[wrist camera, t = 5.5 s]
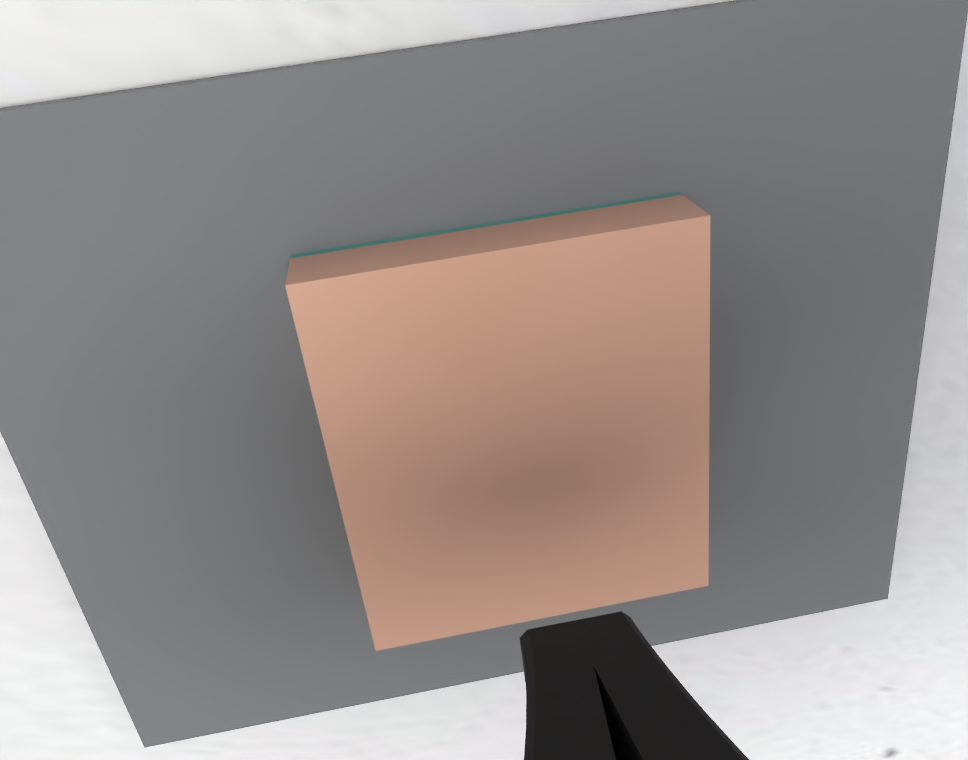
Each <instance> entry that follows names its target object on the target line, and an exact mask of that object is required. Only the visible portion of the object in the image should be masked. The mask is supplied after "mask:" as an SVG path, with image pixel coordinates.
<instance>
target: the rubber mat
mask: <svg viewBox="0 0 968 760" xmlns="http://www.w3.org/2000/svg"><path fill="white" fill-rule="evenodd" d="M967 12H968V0H736V1H729V2H722V3H716V4H709V5H702V6H695V7H688V8H682V9H675V10H668V11H661V12H654V13H647V14H641V15H634V16H627V17H620V18H613V19H606V20H600V21H593V22H586V23H579V24H572V25H566V26H559V27H552V28H545V29H538V30H531V31H525V32H518V33H511V34H504V35H497V36H491V37H484V38H477V39H470V40H463V41H456V42H450V43H443V44H436V45H429V46H422V47H415V48H409V49H402V50H395V51H388V52H381V53H375V54H368V55H361V56H354V57H347V58H340V59H334V60H327V61H320V62H313V63H306V64H299V65H293V66H286V67H279V68H272V69H265V70H259V71H252V72H245V73H238V74H231V75H224V76H218V77H211V78H204V79H197V80H190V81H183V82H177V83H170V84H163V85H156V86H149V87H143V88H136V89H129V90H122V91H115V92H108V93H102V94H95V95H88V96H81V97H74V98H68V99H61V100H54V101H47V102H40V103H33V104H27V105H20V106H13V107H6V108H0V432H1V434H2V436H3V438H4V441H5V443H6V445H7V447H8V449H9V451H10V454H11V456H12V458H13V460H14V462H15V465H16V467H17V469H18V471H19V473H20V476H21V478H22V480H23V482H24V484H25V487H26V489H27V491H28V493H29V495H30V497H31V500H32V502H33V504H34V506H35V508H36V511H37V513H38V515H39V517H40V519H41V522H42V524H43V526H44V528H45V530H46V532H47V535H48V537H49V539H50V541H51V543H52V546H53V548H54V550H55V552H56V554H57V557H58V559H59V561H60V563H61V565H62V568H63V570H64V572H65V574H66V576H67V578H68V581H69V583H70V585H71V587H72V589H73V592H74V594H75V596H76V598H77V600H78V603H79V605H80V607H81V609H82V611H83V613H84V616H85V618H86V620H87V622H88V624H89V627H90V629H91V631H92V633H93V635H94V638H95V640H96V642H97V644H98V646H99V649H100V651H101V653H102V655H103V657H104V659H105V662H106V664H107V666H108V668H109V670H110V673H111V675H112V677H113V679H114V681H115V684H116V686H117V688H118V690H119V692H120V694H121V697H122V699H123V701H124V703H125V705H126V708H127V710H128V712H129V714H130V716H131V719H132V721H133V723H134V725H135V727H136V730H137V732H138V734H139V736H140V738H141V740H142V743H143V745H144V747H149V746H154V745H159V744H164V743H169V742H174V741H179V740H184V739H189V738H194V737H199V736H204V735H209V734H214V733H219V732H224V731H229V730H234V729H239V728H244V727H249V726H254V725H259V724H264V723H269V722H274V721H279V720H284V719H289V718H294V717H299V716H304V715H309V714H314V713H319V712H324V711H329V710H334V709H339V708H344V707H349V706H354V705H359V704H364V703H369V702H374V701H379V700H384V699H389V698H394V697H399V696H404V695H409V694H414V693H419V692H424V691H429V690H434V689H439V688H444V687H449V686H454V685H459V684H464V683H469V682H474V681H479V680H484V679H489V678H494V677H499V676H504V675H509V674H513V673H518V672H523V671H524V667H523V660H522V653H521V645H520V637H521V636H522V635H523V634H524V633H525V632H526V631H527V629H532V628H538V627H543V626H548V625H553V624H558V623H564V622H569V621H574V620H579V619H584V618H589V617H595V616H600V615H605V614H610V613H615V612H620V611H622V612H623V613H625V614H627V615H628V616H630V617H631V619H632V620H633V622H634V623H635V625H636V626H637V628H638V629H639V630H640V632H641V633H642V635H643V636H644V637H645V639H646V640H647V641H648V643H649V644H650V645H651V646H653V645H658V644H663V643H668V642H673V641H678V640H683V639H688V638H693V637H698V636H703V635H708V634H713V633H718V632H723V631H728V630H733V629H738V628H743V627H748V626H753V625H758V624H763V623H768V622H773V621H778V620H783V619H788V618H793V617H798V616H803V615H808V614H813V613H818V612H823V611H828V610H833V609H838V608H843V607H848V606H853V605H858V604H863V603H868V602H873V601H878V600H883V599H888V592H889V585H890V577H891V570H892V563H893V555H894V548H895V541H896V533H897V526H898V519H899V511H900V504H901V497H902V489H903V482H904V474H905V467H906V460H907V452H908V445H909V438H910V430H911V423H912V416H913V408H914V401H915V394H916V386H917V379H918V372H919V364H920V357H921V350H922V342H923V335H924V328H925V320H926V313H927V306H928V298H929V291H930V284H931V276H932V269H933V262H934V254H935V247H936V240H937V232H938V225H939V218H940V210H941V203H942V196H943V188H944V181H945V174H946V166H947V159H948V152H949V144H950V137H951V130H952V122H953V115H954V108H955V100H956V93H957V86H958V78H959V71H960V64H961V56H962V49H963V42H964V34H965V27H966V20H967ZM675 192H680V193H681V194H683V195H684V196H685V197H687V198H688V199H689V200H691V201H692V202H693V203H695V204H696V205H697V206H699V207H700V208H701V209H703V210H704V211H705V212H707V213H708V214H709V215H710V391H709V581H708V586H705V587H700V588H695V589H689V590H684V591H679V592H674V593H669V594H664V595H659V596H654V597H649V598H644V599H639V600H633V601H628V602H623V603H618V604H613V605H608V606H603V607H598V608H593V609H588V610H582V611H577V612H572V613H567V614H562V615H557V616H552V617H547V618H542V619H537V620H532V621H526V622H521V623H516V624H511V625H506V626H501V627H496V628H491V629H486V630H481V631H476V632H470V633H465V634H460V635H455V636H450V637H445V638H440V639H435V640H430V641H425V642H419V643H414V644H409V645H404V646H399V647H394V648H389V649H384V650H379V651H376V650H375V646H374V642H373V638H372V634H371V630H370V626H369V622H368V618H367V614H366V610H365V606H364V602H363V598H362V594H361V590H360V586H359V582H358V578H357V574H356V570H355V566H354V562H353V558H352V553H351V549H350V545H349V541H348V537H347V533H346V529H345V525H344V521H343V517H342V513H341V509H340V505H339V501H338V497H337V493H336V489H335V485H334V481H333V477H332V473H331V469H330V465H329V461H328V457H327V452H326V448H325V444H324V440H323V436H322V432H321V428H320V424H319V420H318V416H317V412H316V408H315V404H314V400H313V396H312V392H311V388H310V384H309V380H308V376H307V372H306V368H305V364H304V360H303V356H302V352H301V347H300V343H299V339H298V335H297V331H296V327H295V323H294V319H293V315H292V311H291V307H290V303H289V299H288V295H287V291H286V287H285V283H286V278H287V272H288V266H289V261H290V255H293V254H299V253H305V252H311V251H317V250H323V249H330V248H336V247H342V246H348V245H354V244H360V243H366V242H373V241H379V240H385V239H391V238H397V237H403V236H410V235H416V234H422V233H428V232H434V231H440V230H447V229H453V228H459V227H465V226H471V225H477V224H484V223H490V222H496V221H502V220H508V219H514V218H521V217H527V216H533V215H539V214H545V213H551V212H558V211H564V210H570V209H576V208H582V207H588V206H595V205H601V204H607V203H613V202H619V201H625V200H632V199H638V198H644V197H650V196H656V195H662V194H669V193H675Z"/></svg>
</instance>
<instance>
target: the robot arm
mask: <svg viewBox="0 0 968 760" xmlns="http://www.w3.org/2000/svg"><path fill="white" fill-rule="evenodd" d="M520 645H521V653H522V660H523V667H524V675H525V682H526V695H527V705H526V739H525V755H524V760H749V759H748V758H747V757H746V756H745V755H744V754H743V753H742V752H741V751H740V750H739V749H738V747H737V746H736V745H735V744H734V743H733V742H732V741H731V740H730V739H729V738H728V737H727V735H726V734H725V733H724V732H723V731H722V730H721V729H720V728H719V727H718V726H717V724H716V723H715V722H714V721H713V720H712V719H711V718H710V717H709V716H708V715H707V713H706V712H705V711H704V710H703V709H702V708H701V707H700V706H699V704H698V703H697V702H696V701H695V700H694V699H693V697H692V696H691V695H690V694H689V693H688V692H687V690H686V689H685V688H684V687H683V686H682V684H681V683H680V682H679V681H678V679H677V678H676V677H675V676H674V675H673V673H672V672H671V671H670V670H669V669H668V667H667V666H666V665H665V663H664V662H663V661H662V660H661V658H660V657H659V656H658V655H657V653H656V652H655V651H654V649H653V648H652V647H651V645H650V644H649V643H648V641H647V640H646V639H645V637H644V636H643V635H642V633H641V632H640V630H639V629H638V628H637V626H636V625H635V623H634V622H633V620H632V619H631V617H630V616H628V615H627V614H625V613H623V612H622V611H620V612H615V613H610V614H605V615H600V616H595V617H589V618H584V619H579V620H574V621H569V622H564V623H558V624H553V625H548V626H543V627H538V628H532V629H527V631H526V632H525V633H524V634H523V635H522V636H521V637H520Z"/></svg>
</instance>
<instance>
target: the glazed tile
mask: <svg viewBox="0 0 968 760" xmlns="http://www.w3.org/2000/svg"><path fill="white" fill-rule="evenodd" d="M285 287H286V291H287V295H288V299H289V303H290V307H291V311H292V315H293V319H294V323H295V327H296V331H297V335H298V339H299V343H300V347H301V352H302V356H303V360H304V364H305V368H306V372H307V376H308V380H309V384H310V388H311V392H312V396H313V400H314V404H315V408H316V412H317V416H318V420H319V424H320V428H321V432H322V436H323V440H324V444H325V448H326V452H327V457H328V461H329V465H330V469H331V473H332V477H333V481H334V485H335V489H336V493H337V497H338V501H339V505H340V509H341V513H342V517H343V521H344V525H345V529H346V533H347V537H348V541H349V545H350V549H351V553H352V558H353V562H354V566H355V570H356V574H357V578H358V582H359V586H360V590H361V594H362V598H363V602H364V606H365V610H366V614H367V618H368V622H369V626H370V630H371V634H372V638H373V642H374V646H375V650H376V651H379V650H384V649H389V648H394V647H399V646H404V645H409V644H414V643H419V642H425V641H430V640H435V639H440V638H445V637H450V636H455V635H460V634H465V633H470V632H476V631H481V630H486V629H491V628H496V627H501V626H506V625H511V624H516V623H521V622H526V621H532V620H537V619H542V618H547V617H552V616H557V615H562V614H567V613H572V612H577V611H582V610H588V609H593V608H598V607H603V606H608V605H613V604H618V603H623V602H628V601H633V600H639V599H644V598H649V597H654V596H659V595H664V594H669V593H674V592H679V591H684V590H689V589H695V588H700V587H705V586H708V581H709V391H710V215H709V214H708V213H707V212H705V211H704V210H703V209H701V208H700V207H699V206H697V205H696V204H695V203H693V202H692V201H691V200H689V199H688V198H687V197H685V196H684V195H683V194H681V193H680V192H675V193H669V194H662V195H656V196H650V197H644V198H638V199H632V200H625V201H619V202H613V203H607V204H601V205H595V206H588V207H582V208H576V209H570V210H564V211H558V212H551V213H545V214H539V215H533V216H527V217H521V218H514V219H508V220H502V221H496V222H490V223H484V224H477V225H471V226H465V227H459V228H453V229H447V230H440V231H434V232H428V233H422V234H416V235H410V236H403V237H397V238H391V239H385V240H379V241H373V242H366V243H360V244H354V245H348V246H342V247H336V248H330V249H323V250H317V251H311V252H305V253H299V254H293V255H290V261H289V266H288V272H287V278H286V283H285Z"/></svg>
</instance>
